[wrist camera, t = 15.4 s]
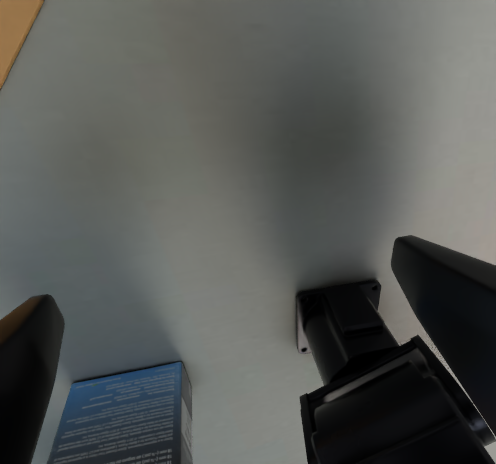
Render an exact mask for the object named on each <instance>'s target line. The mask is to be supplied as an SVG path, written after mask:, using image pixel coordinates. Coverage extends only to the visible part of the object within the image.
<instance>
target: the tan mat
mask: <svg viewBox="0 0 496 464" xmlns="http://www.w3.org/2000/svg"><path fill="white" fill-rule="evenodd" d="M43 2H44V0H0V89H1V87H2V85H3V83H4V81H5V79H6V77H7V75H8V73H9V71H10V69H11V67H12V65H13V63H14V61H15V59H16V57H17V55H18V53H19V51H20V49H21V47H22V44H23V42H24V40H25V38H26V36H27V34H28V32H29V30H30V28H31V26H32V24H33V22H34V20H35V18H36V16H37V14H38V12H39V10H40V8H41V6H42V4H43Z"/></svg>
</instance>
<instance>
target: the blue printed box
mask: <svg viewBox="0 0 496 464" xmlns="http://www.w3.org/2000/svg"><path fill="white" fill-rule="evenodd" d="M47 464H193V463H192V388H191V385H190V382H189V379H188V377H187V374H186V371H185V369H184V366H183V364H182V362H176V363H172V364H167V365H163V366H158V367H154V368H149V369H144V370H139V371H134V372H129V373H124V374H119V375H114V376H109V377H104V378H99V379H94V380H88V381H84V382H78V383H73V384H72V385H71V388H70V392H69V395H68V398H67V401H66V404H65V407H64V410H63V414H62V417H61V420H60V423H59V426H58V429H57V432H56V435H55V439H54V442H53V445H52V448H51V452H50V455H49V458H48V461H47Z"/></svg>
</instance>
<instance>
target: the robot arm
mask: <svg viewBox="0 0 496 464" xmlns="http://www.w3.org/2000/svg"><path fill="white" fill-rule="evenodd" d="M391 267H392V270H393V273H394V275H395V277H396V278H397V280H398V282H399V284H400V286H401V288H402V290H403V292H404V294H405V296H406V298H407V300H408V302H409V304H410V306H411V308H412V309H413V311H414V313H415V315H416V317H417V318H418V320H419V321H420V323H421V325H422V326H423V328H424V329H425V331H426V332H427V334H428V335H429V337H430V338H431V340H432V341H433V343H434V344H435V346H436V347H437V349H438V350H439V352H440V353H441V355H442V356H443V358H444V359H445V361H446V362H447V364H448V365H449V367H450V368H451V370H452V371H453V373H454V374H455V376H456V377H457V379H458V380H459V382H460V383H461V385H462V386H463V388H464V389H465V391H466V392H467V394H468V395H469V397H470V398H471V400H472V401H473V403H474V404H475V406H476V407H477V409H478V410H479V412H480V413H481V415H482V416H483V418H484V419H485V421H486V422H485V421H484V419H483V418H482V416H481V415H480V413H479V412H478V411H477V409H476V408H475V406H474V405H473V403H472V402H471V401H470V399H469V398H468V396H467V395H466V394H465V392H464V391H463V390H462V388H461V387H460V386H459V384H458V383H457V382H456V381H455V379H454V378H453V377H452V375H451V374H450V373H449V372H448V371H447V369H446V368H445V367H444V366H443V364H442V363H441V362H440V361H439V360H438V358H437V357H436V356H435V355H434V353H433V352H432V351H431V350H430V349H429V347H428V346H427V345H426V344H425V342H424V341H423V340H422V339H421V338H420V336H419V335H417V336H415V337H413V338H411V340H410V341H408V342H407V343H405V344H403V345H401V346H399V344H398V343H397V341H396V340H395V338H394V337H393V335H392V334H391V332H390V331H389V329H388V328H387V326H386V325H385V323H384V321H383V319H382V318H381V316H380V315H379V313H378V312H377V311H378V304H379V298H380V291H381V285H380V283H379V282H378V281H377V280H368V281H362V282H356V283H350V284H344V285H338V286H332V287H326V288H320V289H314V290H308V291H302V292H300V293H298V294H297V296H296V317H297V348H298V351H299V353H301V354H306V353H311V352H312V355H313V357H314V360H315V363H316V365H317V368H318V370H319V373H320V376H321V378H322V381H323V384H324V386H323V387H321V388H319V389H317V390H315V391H313V392H311V393H309V394H307V393H306V394H304V395H302V396H300V403H301V417H302V425H303V432H304V439H305V447H306V454H307V461H308V464H495V462H494V461H493V460H492V458H491V457H490V455H489V454H488V452H487V451H486V449H485V448H484V446H486V445H489V444H491V443H493V442H495V441H496V439H495V437H494V435H493V434H492V432H491V430H492V431H493V433H494V434H495V436H496V266H495V265H492V264H490V263H487V262H484V261H481V260H479V259H476V258H473V257H470V256H468V255H465V254H462V253H459V252H457V251H454V250H451V249H448V248H446V247H443V246H440V245H437V244H435V243H432V242H429V241H426V240H423V239H421V238H418V237H415V236H412V235H409V236H403V237H398V238H397V239H396V240H395V242H394V247H393V253H392V259H391ZM373 286H374V287H373ZM304 297H305V298H304ZM302 298H304V299H302ZM63 332H64V318H63V316H62V314H61V312H60V310H59V308H58V306H57V304H56V302H55V300H54V299H53V297H52V296H51V295H48V294H45V295H39V296H33V297H31V298H29V299H28V300H27V301H25V302H24V303H23V304H21V305H20V306H19V307H17V308H16V309H15V310H13V311H12V312H11V313H9V314H8V315H7V316H5V317H4V318H3V319H1V320H0V464H31V462H32V458H33V455H34V452H35V448H36V445H37V441H38V438H39V435H40V431H41V428H42V424H43V421H44V418H45V414H46V411H47V407H48V404H49V401H50V397H51V394H52V390H53V386H54V382H55V378H56V373H57V367H58V361H59V355H60V349H61V344H62V338H63ZM486 423H487V424H488V425H489V427H490V429H491V430H490V429H489V427H488V426H487V424H486Z"/></svg>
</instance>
